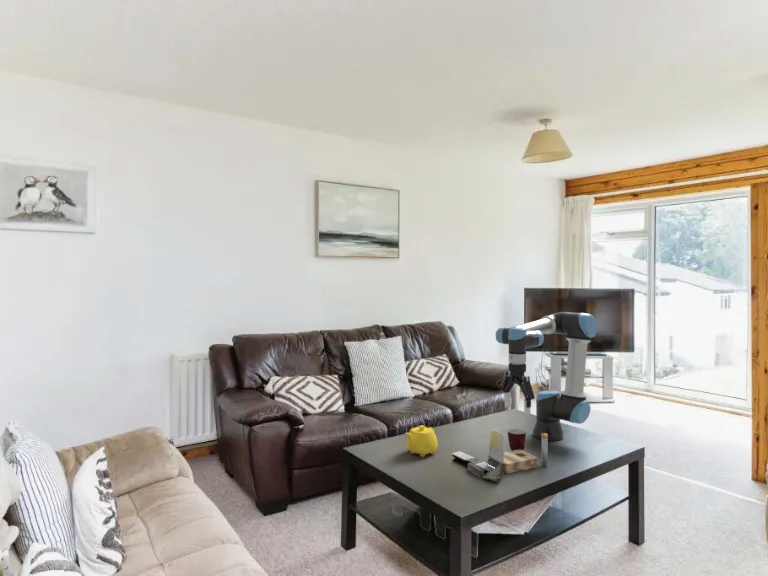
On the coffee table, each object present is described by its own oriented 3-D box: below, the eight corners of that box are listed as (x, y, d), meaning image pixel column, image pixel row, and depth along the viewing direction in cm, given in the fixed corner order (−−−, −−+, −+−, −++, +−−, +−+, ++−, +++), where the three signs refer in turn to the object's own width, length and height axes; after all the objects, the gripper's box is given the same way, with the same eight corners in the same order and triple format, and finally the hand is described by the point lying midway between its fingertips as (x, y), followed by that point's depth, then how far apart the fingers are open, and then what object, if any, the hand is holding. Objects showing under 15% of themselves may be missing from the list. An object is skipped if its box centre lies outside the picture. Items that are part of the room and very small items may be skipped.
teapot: (444, 452, 236) (444, 425, 236) (416, 463, 222) (416, 434, 222) (423, 444, 246) (423, 419, 246) (394, 455, 232) (394, 428, 232)
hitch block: (519, 457, 228) (519, 449, 228) (538, 466, 217) (538, 457, 217) (465, 468, 215) (465, 459, 215) (482, 478, 205) (482, 469, 204)
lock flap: (489, 457, 219) (491, 428, 220) (504, 465, 210) (506, 435, 211) (487, 457, 219) (489, 428, 219) (502, 465, 210) (504, 435, 210)
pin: (544, 464, 220) (544, 432, 220) (548, 466, 218) (549, 434, 217) (540, 465, 219) (540, 433, 219) (544, 467, 217) (544, 435, 216)
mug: (532, 456, 230) (532, 434, 230) (517, 458, 227) (517, 436, 227) (518, 448, 240) (518, 428, 239) (504, 450, 237) (504, 429, 237)
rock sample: (480, 464, 210) (494, 454, 206) (493, 475, 211) (508, 465, 207) (477, 483, 202) (492, 473, 197) (491, 494, 202) (506, 485, 198)
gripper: (493, 359, 230) (493, 404, 231) (528, 368, 207) (528, 419, 208) (506, 357, 233) (507, 402, 234) (543, 366, 210) (543, 416, 211)
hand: (517, 410), depth 221 cm, fingers open, 13 cm apart
